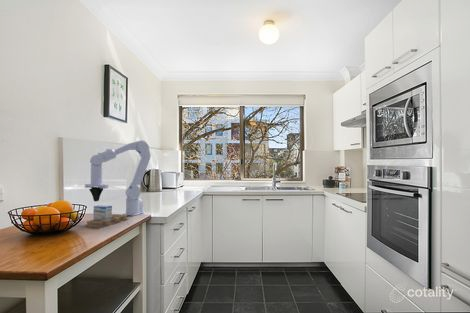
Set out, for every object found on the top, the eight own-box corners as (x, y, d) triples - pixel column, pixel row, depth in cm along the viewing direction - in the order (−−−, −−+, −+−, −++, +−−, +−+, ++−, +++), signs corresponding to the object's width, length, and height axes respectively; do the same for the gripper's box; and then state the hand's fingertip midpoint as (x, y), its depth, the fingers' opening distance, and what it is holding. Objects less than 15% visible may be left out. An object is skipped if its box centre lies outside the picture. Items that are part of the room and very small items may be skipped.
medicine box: (92, 223, 139) (93, 206, 139) (99, 221, 143) (99, 204, 143) (106, 224, 137) (106, 207, 137) (112, 222, 141) (112, 205, 141)
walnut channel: (114, 218, 149) (114, 214, 149) (127, 219, 146) (127, 215, 146) (87, 226, 132) (87, 221, 132) (100, 228, 129) (100, 222, 129)
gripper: (80, 176, 149) (80, 201, 149) (101, 177, 145) (100, 202, 144) (91, 175, 156) (90, 199, 156) (111, 176, 151) (110, 200, 151)
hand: (96, 201), depth 151 cm, fingers closed
